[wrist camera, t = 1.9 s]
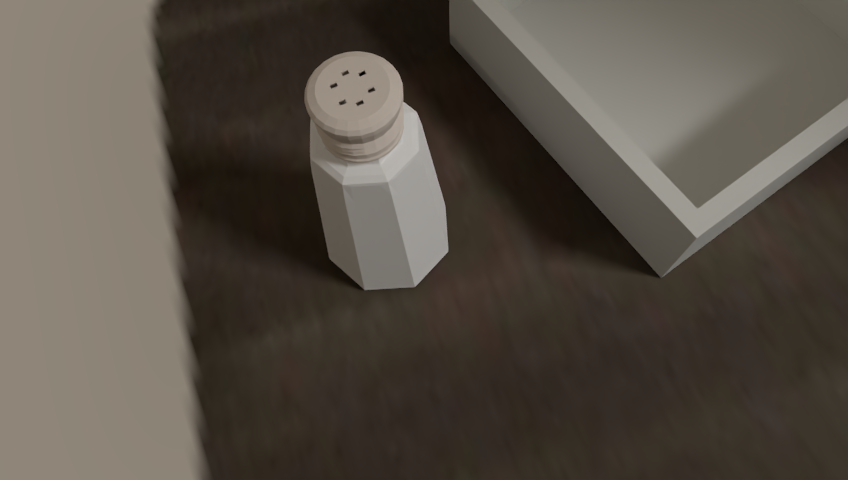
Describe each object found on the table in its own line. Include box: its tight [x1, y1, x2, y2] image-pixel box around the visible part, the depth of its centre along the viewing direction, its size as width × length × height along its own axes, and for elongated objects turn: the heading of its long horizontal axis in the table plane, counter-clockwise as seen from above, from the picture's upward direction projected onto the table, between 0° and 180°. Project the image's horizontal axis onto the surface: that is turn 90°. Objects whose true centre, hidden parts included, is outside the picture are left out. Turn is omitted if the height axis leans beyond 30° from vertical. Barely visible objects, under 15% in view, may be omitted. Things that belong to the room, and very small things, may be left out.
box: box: [449, 0, 848, 278], centre depth 30 cm, size 15×15×4 cm
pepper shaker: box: [305, 51, 448, 290], centre depth 24 cm, size 5×5×11 cm
